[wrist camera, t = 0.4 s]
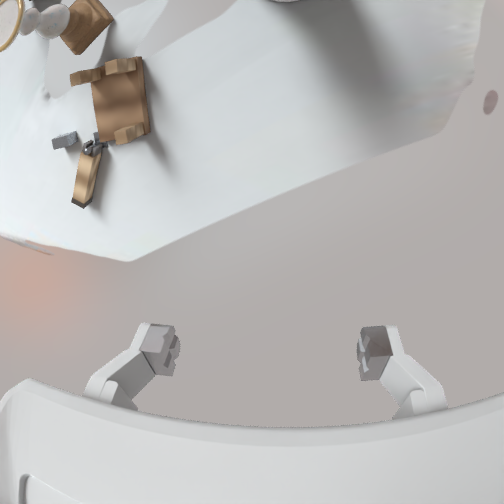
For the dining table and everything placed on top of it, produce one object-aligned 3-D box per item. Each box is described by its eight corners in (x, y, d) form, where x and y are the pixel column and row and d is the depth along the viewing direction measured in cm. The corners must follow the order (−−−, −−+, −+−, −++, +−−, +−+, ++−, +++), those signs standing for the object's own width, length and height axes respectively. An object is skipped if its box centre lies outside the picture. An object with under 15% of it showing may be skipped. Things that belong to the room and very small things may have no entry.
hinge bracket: (92, 133, 53) (80, 139, 49) (104, 130, 53) (92, 136, 49) (95, 148, 55) (84, 155, 51) (107, 146, 55) (96, 153, 51)
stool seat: (95, 69, 45) (68, 73, 37) (141, 56, 43) (117, 56, 36) (105, 139, 54) (81, 152, 46) (150, 132, 53) (129, 144, 45)
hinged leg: (91, 138, 53) (81, 143, 50) (104, 144, 54) (95, 149, 51) (79, 195, 62) (71, 202, 59) (91, 201, 62) (83, 208, 59)
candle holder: (59, 27, 38) (-23, 34, 18) (91, -9, 34) (11, -20, 14) (80, 55, 42) (-4, 69, 23) (114, 19, 38) (32, 11, 19)
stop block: (60, 135, 53) (51, 139, 50) (75, 131, 53) (66, 135, 50) (62, 145, 55) (53, 149, 52) (77, 141, 54) (68, 145, 51)
